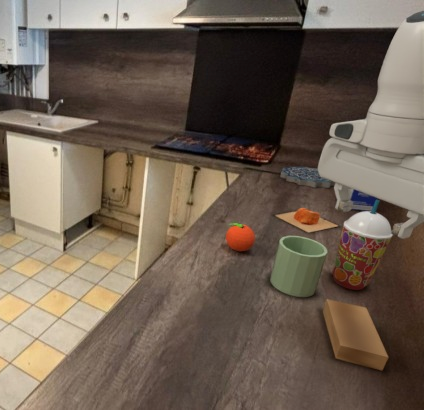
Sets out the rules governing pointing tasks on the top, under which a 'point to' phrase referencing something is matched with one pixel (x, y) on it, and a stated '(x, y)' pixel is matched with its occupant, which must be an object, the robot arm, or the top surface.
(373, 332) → the wooden block
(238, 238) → the clementine
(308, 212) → the salmon on cutting board
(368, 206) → the milk carton
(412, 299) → the top surface
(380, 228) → the smoothie
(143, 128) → the top surface
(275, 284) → the cup
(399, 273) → the top surface
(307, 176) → the decorative tile
